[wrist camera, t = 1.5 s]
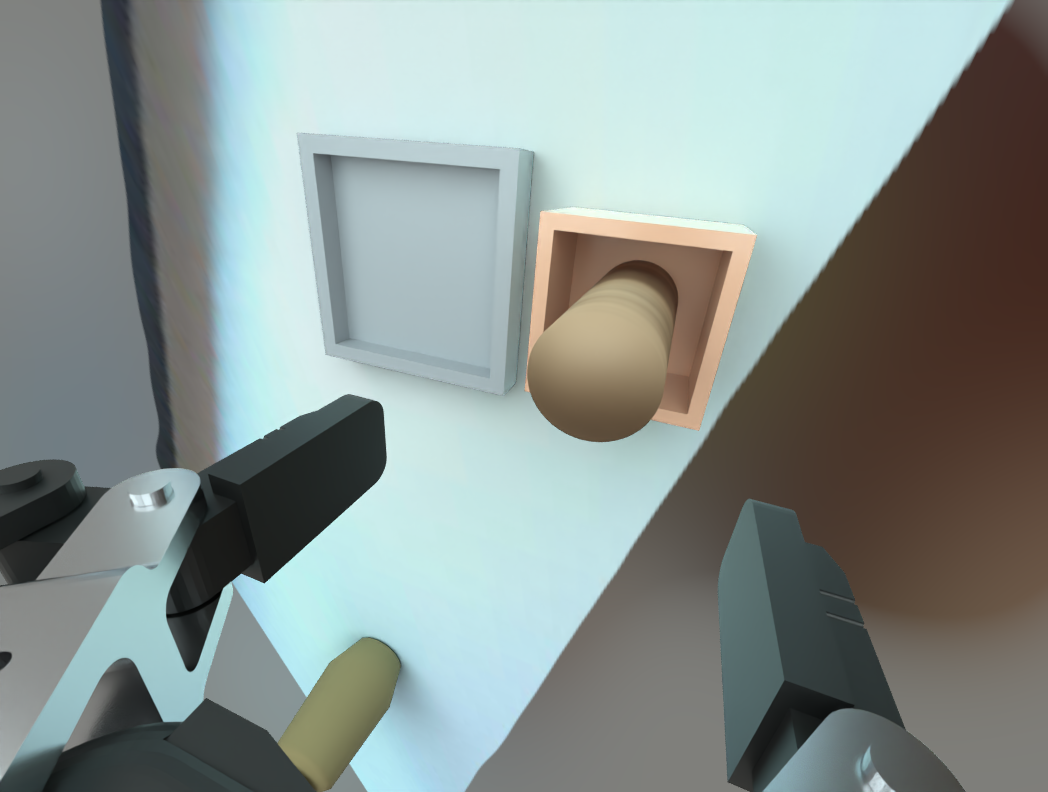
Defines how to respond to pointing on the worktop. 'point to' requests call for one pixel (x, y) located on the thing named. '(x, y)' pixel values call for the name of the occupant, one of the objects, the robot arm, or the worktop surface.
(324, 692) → the squeeze bottle
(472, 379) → the slate tray
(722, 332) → the terracotta box
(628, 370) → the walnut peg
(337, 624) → the worktop surface
